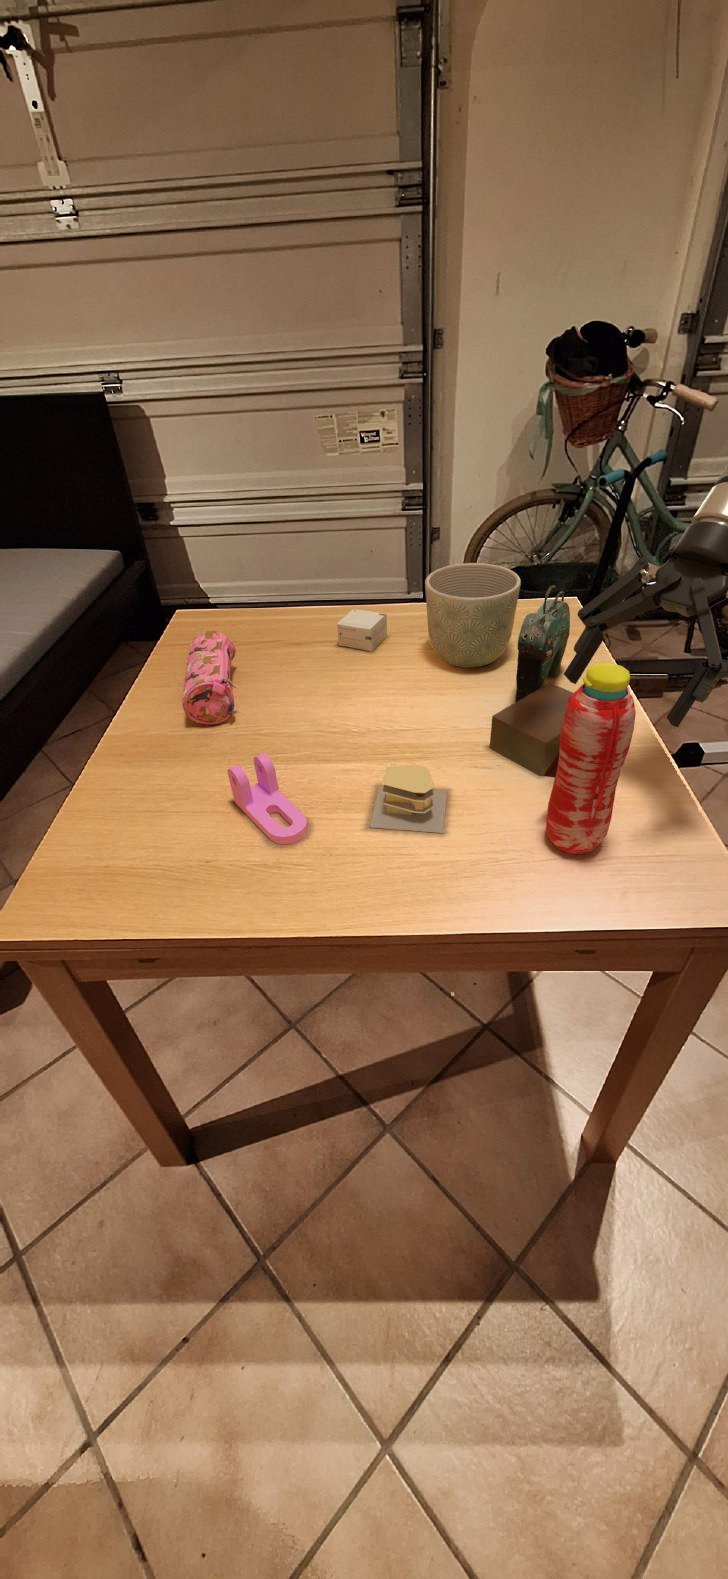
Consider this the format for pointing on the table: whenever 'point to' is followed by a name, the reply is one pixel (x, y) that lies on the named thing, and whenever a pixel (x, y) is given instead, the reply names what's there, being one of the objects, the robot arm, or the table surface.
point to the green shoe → (542, 644)
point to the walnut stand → (531, 728)
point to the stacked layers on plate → (409, 801)
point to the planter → (471, 612)
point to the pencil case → (209, 679)
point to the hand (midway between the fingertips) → (617, 700)
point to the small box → (362, 629)
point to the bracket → (267, 802)
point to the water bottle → (590, 759)
